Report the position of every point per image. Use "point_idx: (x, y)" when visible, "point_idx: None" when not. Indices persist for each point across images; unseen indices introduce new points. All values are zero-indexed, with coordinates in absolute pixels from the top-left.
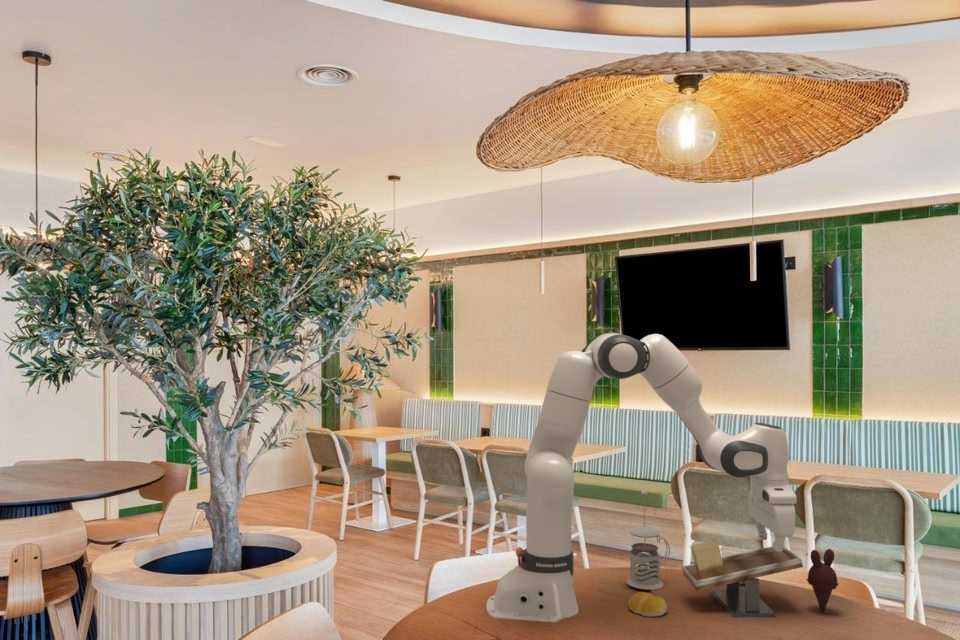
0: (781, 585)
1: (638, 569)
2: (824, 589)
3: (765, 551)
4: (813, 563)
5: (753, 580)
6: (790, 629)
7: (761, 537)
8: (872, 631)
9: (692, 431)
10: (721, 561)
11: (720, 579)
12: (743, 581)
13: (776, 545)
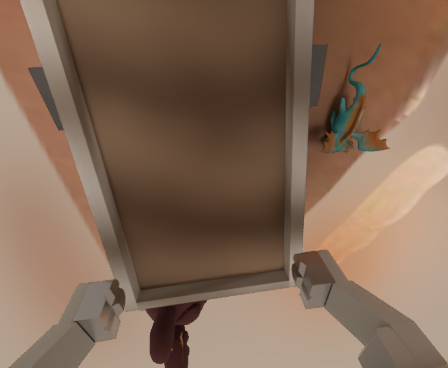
0: (314, 196)
1: None
2: None
3: (287, 224)
4: (160, 312)
5: (47, 104)
6: (57, 151)
7: (299, 265)
8: (110, 267)
9: None
10: None
11: None
12: (333, 121)
13: (64, 318)
